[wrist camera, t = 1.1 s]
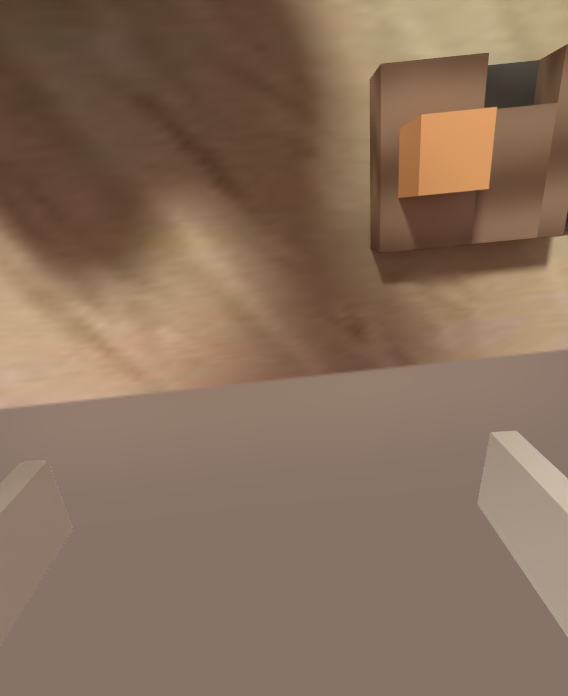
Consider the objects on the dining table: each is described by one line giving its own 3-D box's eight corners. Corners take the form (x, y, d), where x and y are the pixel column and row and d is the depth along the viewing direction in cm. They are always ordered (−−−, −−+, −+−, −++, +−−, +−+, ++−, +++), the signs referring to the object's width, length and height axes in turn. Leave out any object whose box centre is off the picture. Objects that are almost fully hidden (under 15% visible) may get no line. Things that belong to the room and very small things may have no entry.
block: (399, 128, 25) (421, 114, 21) (463, 122, 25) (497, 106, 21) (398, 197, 26) (418, 195, 23) (458, 191, 26) (488, 189, 23)
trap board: (369, 79, 26) (387, 54, 22) (731, 42, 26) (819, 9, 22) (370, 248, 31) (385, 255, 26) (681, 218, 30) (746, 220, 26)
